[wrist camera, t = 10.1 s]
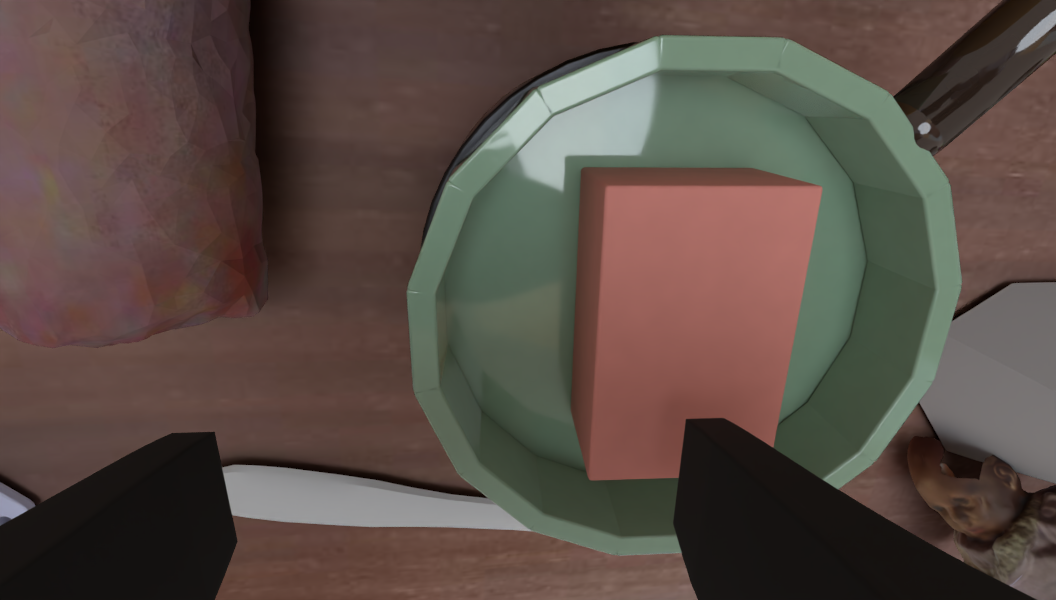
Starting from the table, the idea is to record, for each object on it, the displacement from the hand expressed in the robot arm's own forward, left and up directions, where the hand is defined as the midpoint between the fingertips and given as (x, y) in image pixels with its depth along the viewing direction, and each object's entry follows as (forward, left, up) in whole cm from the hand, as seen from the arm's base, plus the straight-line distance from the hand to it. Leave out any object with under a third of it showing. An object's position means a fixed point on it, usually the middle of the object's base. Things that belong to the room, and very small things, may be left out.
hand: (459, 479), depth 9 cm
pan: (+7, -2, -4) cm, 9 cm away
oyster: (+3, -21, -6) cm, 22 cm away
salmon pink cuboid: (+4, -2, -4) cm, 6 cm away
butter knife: (-4, -9, -10) cm, 14 cm away
